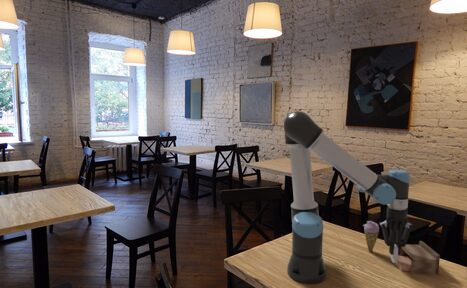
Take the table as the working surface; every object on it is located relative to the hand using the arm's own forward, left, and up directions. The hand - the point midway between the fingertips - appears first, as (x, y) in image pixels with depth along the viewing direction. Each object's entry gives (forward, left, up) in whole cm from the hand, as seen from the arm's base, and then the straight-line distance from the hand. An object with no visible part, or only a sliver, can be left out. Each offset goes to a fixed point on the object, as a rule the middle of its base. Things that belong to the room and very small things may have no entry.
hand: (394, 261), depth 129 cm
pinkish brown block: (+7, 0, -2) cm, 7 cm away
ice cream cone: (-6, +12, -2) cm, 13 cm away
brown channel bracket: (+9, 0, -1) cm, 9 cm away
